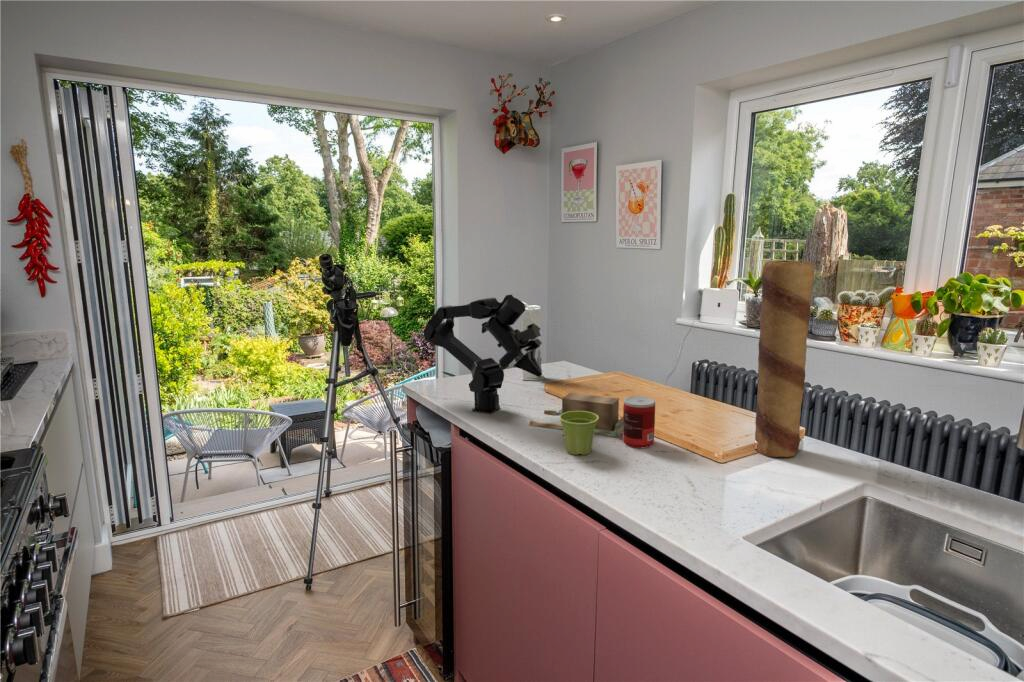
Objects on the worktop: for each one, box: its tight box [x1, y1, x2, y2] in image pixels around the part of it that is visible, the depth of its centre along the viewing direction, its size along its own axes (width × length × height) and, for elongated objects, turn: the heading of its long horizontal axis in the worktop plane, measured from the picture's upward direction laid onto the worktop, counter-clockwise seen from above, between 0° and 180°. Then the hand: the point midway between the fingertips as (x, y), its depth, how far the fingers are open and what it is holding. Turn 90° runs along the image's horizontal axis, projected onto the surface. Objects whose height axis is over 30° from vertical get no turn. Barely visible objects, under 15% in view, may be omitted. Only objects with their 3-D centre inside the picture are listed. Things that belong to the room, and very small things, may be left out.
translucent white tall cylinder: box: [520, 301, 545, 382], centre depth 206 cm, size 8×8×28 cm
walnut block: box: [561, 392, 620, 431], centre depth 155 cm, size 14×6×8 cm, turn 64°
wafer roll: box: [754, 259, 815, 459], centre depth 133 cm, size 10×11×45 cm
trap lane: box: [529, 408, 623, 438], centre depth 158 cm, size 25×22×3 cm
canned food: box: [622, 395, 656, 449], centre depth 142 cm, size 8×8×11 cm
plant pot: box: [559, 411, 599, 456], centre depth 138 cm, size 9×9×9 cm
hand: (540, 375), depth 161 cm, fingers closed
